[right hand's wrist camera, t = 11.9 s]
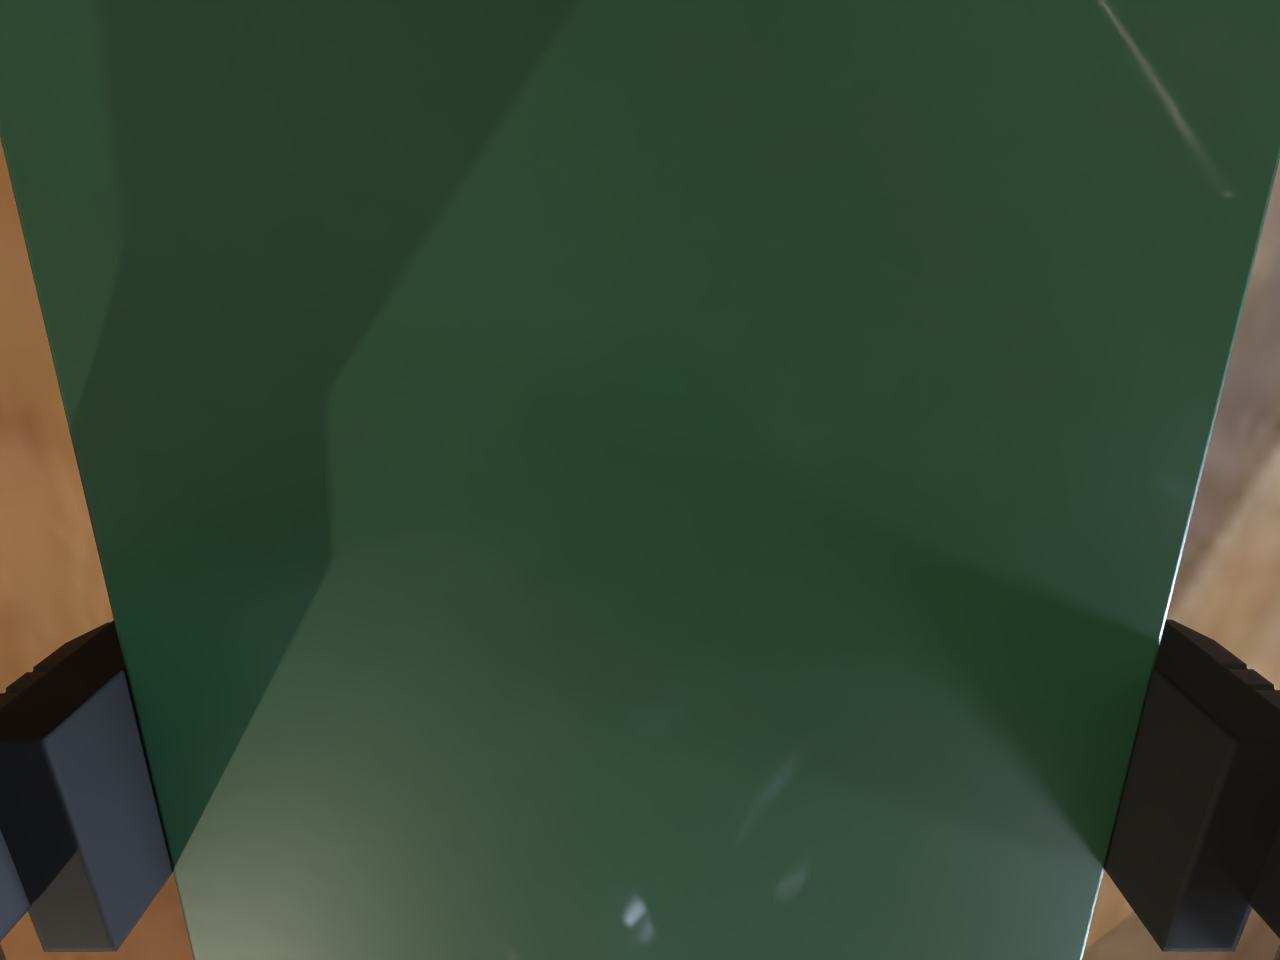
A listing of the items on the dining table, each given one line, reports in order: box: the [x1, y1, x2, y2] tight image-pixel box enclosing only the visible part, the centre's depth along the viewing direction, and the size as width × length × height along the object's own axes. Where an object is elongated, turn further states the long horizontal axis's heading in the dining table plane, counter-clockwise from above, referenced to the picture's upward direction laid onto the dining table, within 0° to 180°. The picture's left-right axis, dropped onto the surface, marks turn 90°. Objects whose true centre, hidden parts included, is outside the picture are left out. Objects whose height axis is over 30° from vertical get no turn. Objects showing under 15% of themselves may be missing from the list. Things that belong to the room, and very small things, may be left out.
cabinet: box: [0, 0, 1280, 960], centre depth 12 cm, size 17×11×12 cm, turn 0°
